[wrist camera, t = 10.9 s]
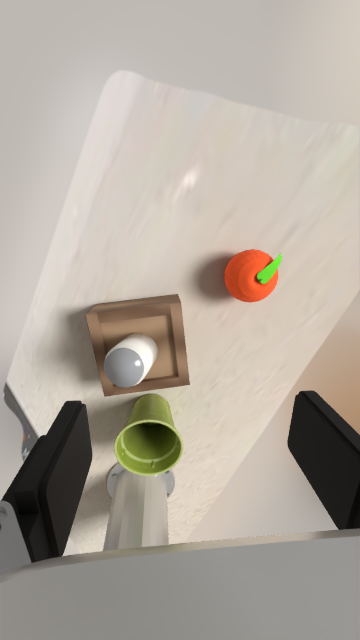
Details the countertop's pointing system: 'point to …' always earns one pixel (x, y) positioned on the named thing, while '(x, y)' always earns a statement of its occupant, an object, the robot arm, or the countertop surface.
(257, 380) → the countertop surface
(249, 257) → the clementine
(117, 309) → the tray
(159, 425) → the plant pot
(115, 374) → the white rounded cylinder
